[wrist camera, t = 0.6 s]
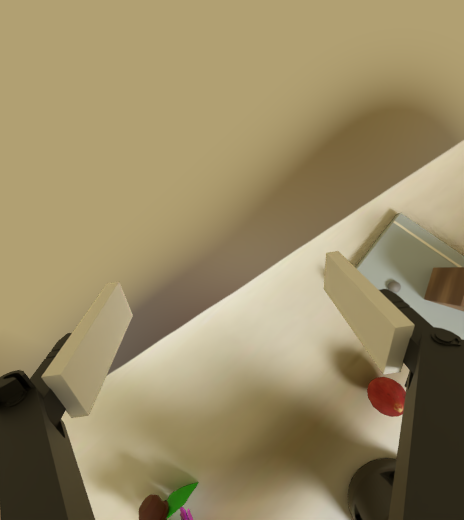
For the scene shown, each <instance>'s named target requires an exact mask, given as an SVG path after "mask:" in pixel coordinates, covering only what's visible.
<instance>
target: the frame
mask: <svg viewBox="0 0 464 520" xmlns="http://www.w3.org/2000/svg"><path fill="white" fill-rule="evenodd" d="M424 300H427V301H431V302H434V303H437V304H441V305H444V306H447V307H451V308H454V309H457V310H461V311H464V267H437V268H433V270H432V274H431V277H430V280H429V283H428V287H427V290H426V293H425V297H424Z"/></svg>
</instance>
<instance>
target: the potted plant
mask: <svg viewBox="0 0 464 520" xmlns="http://www.w3.org/2000/svg"><path fill="white" fill-rule="evenodd" d="M197 484H198V482H197V483H193V484H190V485H187V486H184V487H182V488H180V489H178V490H177V491H175V492H173V493H172V494H171V495H170V496H169V498H168V500H167V501H166V500H165V501H162V500H161V499H160V497H159V496H158V495H149V496H148V497H147V498H146V499H145V500H144V501H143V503H142V504H141V506H140V508H139V520H167V518H169V517H170V516H171V515H172V514H173V513H175V512H176V511H177V510H178V509H179V508H180V511H181V513H180V516H181V520H188V519H189V520H193V518H192V515H191V513H190V510H189V509H188V510H187V513H188V516H187V513H186V511H185V509H184V508H183V507H182V506H183V505H184V504H185V503H186V501H187V499H188V498H189V496H190V494H191V493H192V492H193V490H194V489H195V488H196V486H197Z"/></svg>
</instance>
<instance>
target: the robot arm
mask: <svg viewBox="0 0 464 520" xmlns="http://www.w3.org/2000/svg"><path fill="white" fill-rule="evenodd" d="M324 290H325V291H326V293H327V294H328V296H329V297H330V298H331V300H332V301H333V303H334V304H335V306H336V307H337V309H338V310H339V311H340V313H341V314H342V316H343V317H344V319H345V320H346V321H347V323H348V324H349V326H350V327H351V329H352V330H353V331H354V333H355V334H356V336H357V337H358V339H359V340H360V341H361V343H362V344H363V346H364V347H365V349H366V350H367V352H368V353H369V354H370V356H371V357H372V359H373V360H374V362H375V363H376V364H377V366H378V367H379V369H380V370H381V372H382V373H383V374H390V373H397V372H401V369H402V366H403V362H404V364H405V365H406V366H407V367H408V368H409V370H410V371H409V375H408V378H407V381H406V384H405V387H407V388H406V395H405V403H404V410H403V417H402V424H401V432H400V439H399V446H398V453H397V460H396V459H378V460H374V461H371V462H369V463H367V464H366V465H364V466H363V467H361V468H360V469H359V470H358V471H357V472H356V474H355V475H354V477H353V478H352V480H351V483H350V485H349V490H348V505H349V509H350V512H351V515H352V517H353V520H464V340H462V339H461V338H460V337H459V336H458V335H456V334H454V333H453V332H451V331H448V330H446V329H443V328H437V327H433V326H432V325H431V324H430V323H429V322H427V321H426V320H425V319H424V318H423V317H422V316H421V315H420V314H418V313H417V312H416V311H415V310H414V309H413V308H412V307H411V308H410V306H409V305H408V304H407V303H406V302H404V300H403V299H402V298H400V297H399V296H398V295H397V294H396V293H394V292H392V291H390V290H388V289H380V290H378V289H377V288H376V287H375V286H374V285H373V284H372V283H371V282H370V281H369V280H368V279H367V278H366V277H365V276H363V275H362V274H361V273H360V272H359V271H358V270H357V269H356V268H355V267H354V266H353V265H352V264H351V263H350V262H349V261H348V260H347V259H346V258H345V257H344V256H343V255H342V254H341V253H340V252H339V251H336V252H329V253H326V264H325V279H324ZM132 316H133V315H132V312H131V310H130V308H129V305H128V302H127V300H126V297H125V295H124V293H123V290H122V288H121V285H120V283H119V282H113V283H107V284H106V285H105V287H104V288H103V290H102V291H101V293H100V294H99V295H98V297H97V298H96V300H95V301H94V303H93V304H92V306H91V307H90V308H89V310H88V311H87V313H86V314H85V315H84V317H83V318H82V320H81V321H80V322H79V324H78V325H77V327H76V328H75V330H74V331H73V333H68V334H66V335H65V336H64V337H63V338H61V339H60V340H59V341H58V342H57V343H56V345H55V346H54V347H53V349H52V351H51V352H50V353H49V354H48V356H47V357H46V359H44V361H43V362H42V364H41V365H40V366H39V368H38V369H37V370H36V372H35V373H34V374H33V376H32V377H31V378H30V379H29V378H28V376H27V375H26V374H25V373H24V371H20V370H17V371H13V372H10V373H7V374H5V375H3V376H1V377H0V510H1V520H95V518H94V515H93V512H92V508H91V505H90V502H89V499H88V496H87V493H86V490H85V487H84V484H83V480H82V477H81V474H80V471H79V468H78V465H77V462H76V459H75V455H74V452H73V449H72V446H71V443H70V440H69V437H68V434H67V430H66V427H65V424H64V422H63V421H62V420H61V418H62V416H63V414H64V412H65V410H66V411H67V412H68V414H69V415H70V416H71V418H74V417H81V416H88V415H89V414H90V411H91V409H92V407H93V405H94V402H95V400H96V398H97V395H98V393H99V391H100V389H101V386H102V384H103V382H104V380H105V377H106V375H107V373H108V371H109V368H110V366H111V364H112V361H113V359H114V357H115V354H116V352H117V350H118V348H119V346H120V343H121V341H122V339H123V336H124V334H125V332H126V330H127V327H128V325H129V323H130V320H131V318H132Z"/></svg>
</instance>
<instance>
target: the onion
mask: <svg viewBox="0 0 464 520" xmlns="http://www.w3.org/2000/svg"><path fill="white" fill-rule="evenodd" d="M367 393H368V398H369V400H370V402H371V403H372V405H373V407H374V408H376V409H377V410H378V411H379V412H381V413H382V414H384V415H388V416H392V417H393V416H400V415H402V414H403V410H404V403H405V395H406V392H405V390H404V389H403V387H402V386H401V385H400V384H399V383H397V382H396V381H394V380H393V379H390V378H386V377H379V378H375V379H373V380H372V381H371V382H370V383H369V385H368V389H367Z"/></svg>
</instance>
